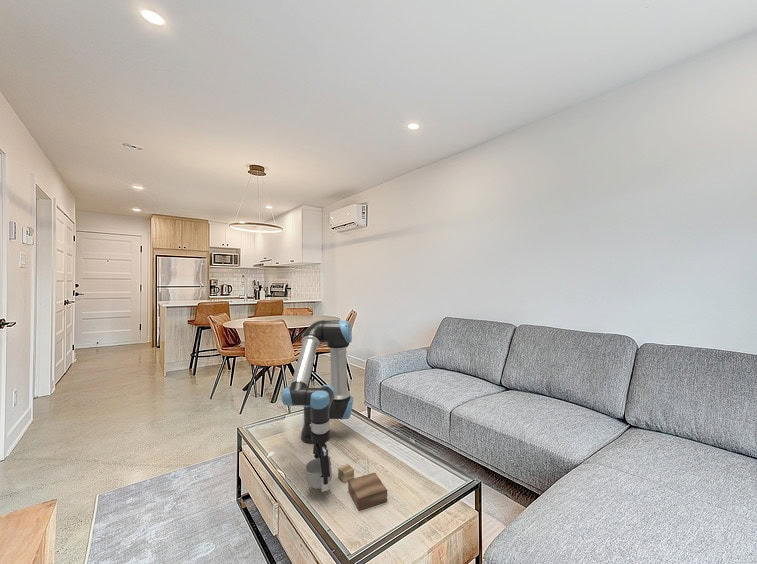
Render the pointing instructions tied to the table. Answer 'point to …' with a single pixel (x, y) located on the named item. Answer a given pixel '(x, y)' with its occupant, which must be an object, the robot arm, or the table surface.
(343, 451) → the table surface
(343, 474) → the oak cube
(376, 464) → the table surface
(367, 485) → the pedestal block
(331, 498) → the table surface
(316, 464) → the teacup
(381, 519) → the table surface
